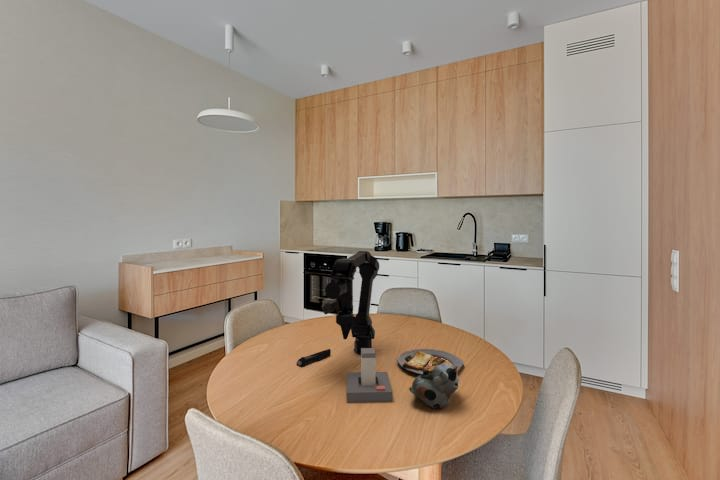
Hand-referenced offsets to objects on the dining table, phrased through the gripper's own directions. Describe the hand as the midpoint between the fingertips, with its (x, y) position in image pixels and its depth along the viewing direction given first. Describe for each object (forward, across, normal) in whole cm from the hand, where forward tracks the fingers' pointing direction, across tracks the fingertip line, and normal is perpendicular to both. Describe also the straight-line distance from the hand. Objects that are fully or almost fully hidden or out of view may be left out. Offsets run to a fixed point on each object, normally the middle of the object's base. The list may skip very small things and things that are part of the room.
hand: (345, 334), depth 127 cm
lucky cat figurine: (+13, +22, +28) cm, 38 cm away
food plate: (+14, -2, +32) cm, 35 cm away
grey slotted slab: (+13, +16, +8) cm, 22 cm away
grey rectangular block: (+12, +16, +8) cm, 22 cm away
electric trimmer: (+14, -8, -12) cm, 20 cm away
